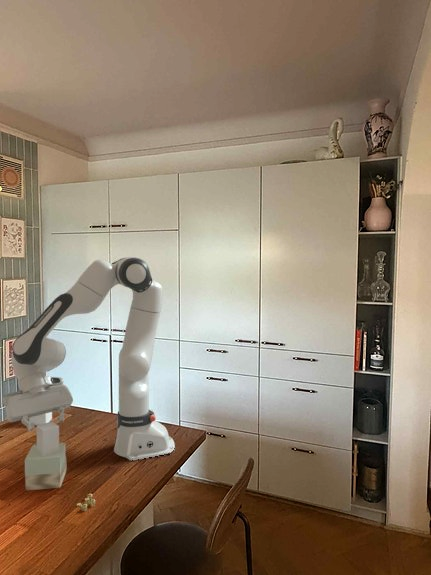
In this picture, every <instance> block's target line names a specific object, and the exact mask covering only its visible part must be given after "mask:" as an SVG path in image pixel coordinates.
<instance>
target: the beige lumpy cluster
mask: <svg viewBox="0 0 431 575" xmlns="http://www.w3.org/2000/svg"><path fill="white" fill-rule="evenodd" d="M88 504H89V506H90V507H91V508H92V507H93V508H94V507H95V506H96V499H93V494H92V493H88V494H87V495H86V497H85V498H84V504H82V502H78V503H77V504H76V507H80V509H81V512H83V513H84V512H86V511H88Z"/></svg>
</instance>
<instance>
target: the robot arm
mask: <svg viewBox="0 0 431 575" xmlns="http://www.w3.org/2000/svg"><path fill="white" fill-rule="evenodd" d="M117 285H121V286H123V287H126V288H129V289H131V291H132V301H131V304H130V308H129V313H128V317H127V322H126V326H125V331H124V337H123V343H122V347H121V349H120V351H119V354H118V411H117V414H116V426H117V433H116V439H115V445H114V448H113V452H114V453H115V454H116V455H118V456H120V457H123V458H126V459H127V460H128V461H132V460H133V461H139V460H145V459H144V458H146V459H150V458H149V457H152V458H156V457H155V456H158V457H160V456H159V455H164V454H168V453H171V452H172V451H173V450H174V451H175V449H176V446H175V444H176V443H175V441H174V439H173V438H172V437H171V436H169V435H170V434H169V432H168V429H167V428H166V427H165V425H163V424H162V423H160V422H159V421H157V420H156V419H157V418H156V415H155V412H154V410H153V409H149V408H150V405H149V404H150V387H149V386H150V385H149V372H150V369H151V365H152V359H153V354H154V353H153V352H154V349H155V348H154V347H155V342H156V341H155V340H156V334H157V333H156V332H157V330H158V325H159V319H160V315H161V311H162V306H163V297H164V296H163V295H164V293H163V291H164V290H163V286H162V285H161V283H159V282H157V281H156V280H153V278H152V275H151V271H150V267H149V265H148V264H147V263H146V261H145V260H143V259H141V258H138V257H134V256H126V257H122V258H120V259H118V260H116V261H114V262H112V263H110V262H109V261H106V260H104V259H95V260H94V261H93V262H92V263H91V264H90V265H89V266H88V267H87V268H86V269H85V270H84V271H83V272H82V274H81V275H80V276H79V277H78V278H77V280H76V282H75V283H74V284H73V286H71V287H70V289H68V290H67V291H66V292H64V293H62V294H59V295H58V296H57V297H56V298H54V300H52V301H51V303H50V304H49V305H48V306H46V308H45V309H44V311H43V312H42V313H41V314H40V315H39V316H38V317H37V318H36V319H35V321H34V322H33V323H32V324H31V325H30V326H29V327H28V328H27V329H26V330H25V331H23V332H22V333H20V334H19V336H17V337H16V339H15V340H14V342H13V344H12V349H11V351H12V352H11V355H10V358H11V360H10V362H11V365H12V366H11V367H12V369H13V373H14V376H15V377H16V379H17V386H18V389H19V390H18V391H14V392H9V393H6V395H4V396H3V397H2V399H1V400H2V404H3V406H4V407H5V413H6V419H7V421H8V422H10V423H14V422H17V421H21V423H22V425H24V426H26V427H27V430H28V432H31V431H34V430H35V428H36V425H34V423H30V422H29V418H30V417H34V416H38V415H42V414H46V413H50V412H52V413H53V412H58V413H59V415H58V416H57V422H58V423H63V422H64V421H65V417H64V414H65V409H68V408H70V407H71V406H72V404H73V403H74V399H73V396H72V393H71V391H70V389H69V387H68V386H67V385H65V384H64V379H63V377H59V376H57V377H56V376H49V375H46V373H47V372H50V371H52V370H54V369H56V368H57V367H59V366H60V365H62V363H63V362H64V360H65V358H66V354H67V351H66V350H67V349H66V347H65V345H64V343H63V342H60V341H59V340H55V339H53V338H49V337H48V336H49V334H51V332H52V331H53V330H54V329H55V327H56V326H58V324H59V323H60V322H61V321H62V320H64V319H65V318H66V317H69V316H73V315H85V314H91V313H92V312H95V311H96V310H97V309H98V308H99V307H100V305H102V303H103V301H104V300H105V299H106V297H107V296H108V294H109V292H110V291H111V290H112V289H113V288H114V287H115V286H117ZM174 448H175V449H174ZM164 456H165V455H164ZM138 459H139V460H138Z"/></svg>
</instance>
